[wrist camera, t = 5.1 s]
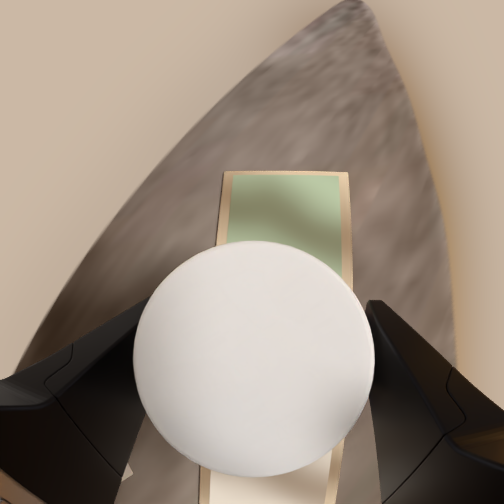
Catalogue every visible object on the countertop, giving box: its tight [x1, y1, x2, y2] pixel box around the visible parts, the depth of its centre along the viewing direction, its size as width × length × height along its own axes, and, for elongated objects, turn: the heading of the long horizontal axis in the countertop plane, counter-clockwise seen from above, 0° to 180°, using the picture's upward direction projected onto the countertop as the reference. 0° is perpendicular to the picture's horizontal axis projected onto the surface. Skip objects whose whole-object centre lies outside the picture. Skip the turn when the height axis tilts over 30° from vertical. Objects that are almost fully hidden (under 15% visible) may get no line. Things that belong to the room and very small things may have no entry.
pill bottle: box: [133, 241, 375, 478], centre depth 10 cm, size 6×6×10 cm
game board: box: [199, 171, 353, 504], centre depth 16 cm, size 21×8×1 cm, turn 176°
